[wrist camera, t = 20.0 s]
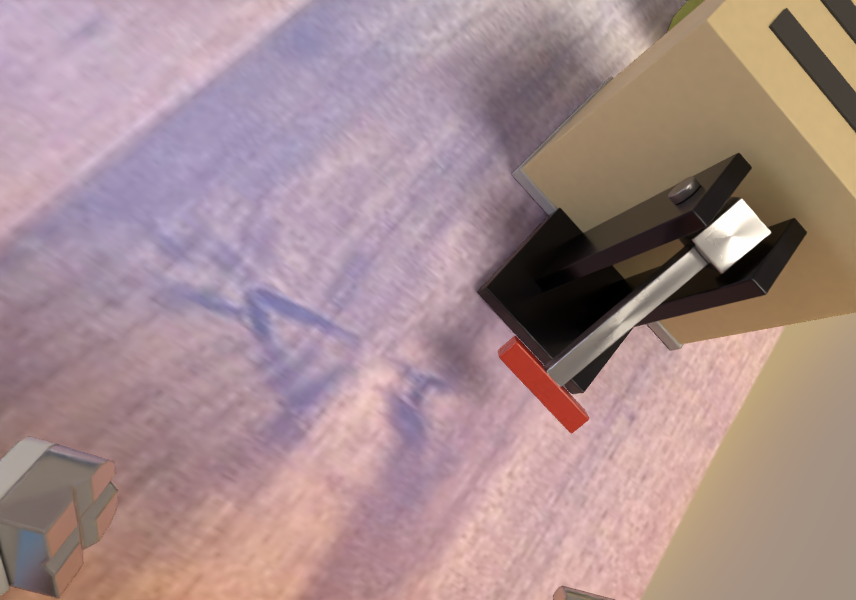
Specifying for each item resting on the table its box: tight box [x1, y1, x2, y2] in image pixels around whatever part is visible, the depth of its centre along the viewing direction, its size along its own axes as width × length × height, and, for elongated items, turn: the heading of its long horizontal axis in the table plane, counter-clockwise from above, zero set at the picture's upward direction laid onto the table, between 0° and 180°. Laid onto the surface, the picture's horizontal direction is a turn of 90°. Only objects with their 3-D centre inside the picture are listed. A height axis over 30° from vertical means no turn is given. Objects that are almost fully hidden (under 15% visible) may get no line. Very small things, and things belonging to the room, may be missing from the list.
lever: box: [498, 196, 771, 433], centre depth 30 cm, size 13×5×2 cm
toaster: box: [512, 0, 856, 350], centre depth 37 cm, size 11×16×17 cm
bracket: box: [477, 153, 807, 394], centre depth 34 cm, size 10×9×15 cm
